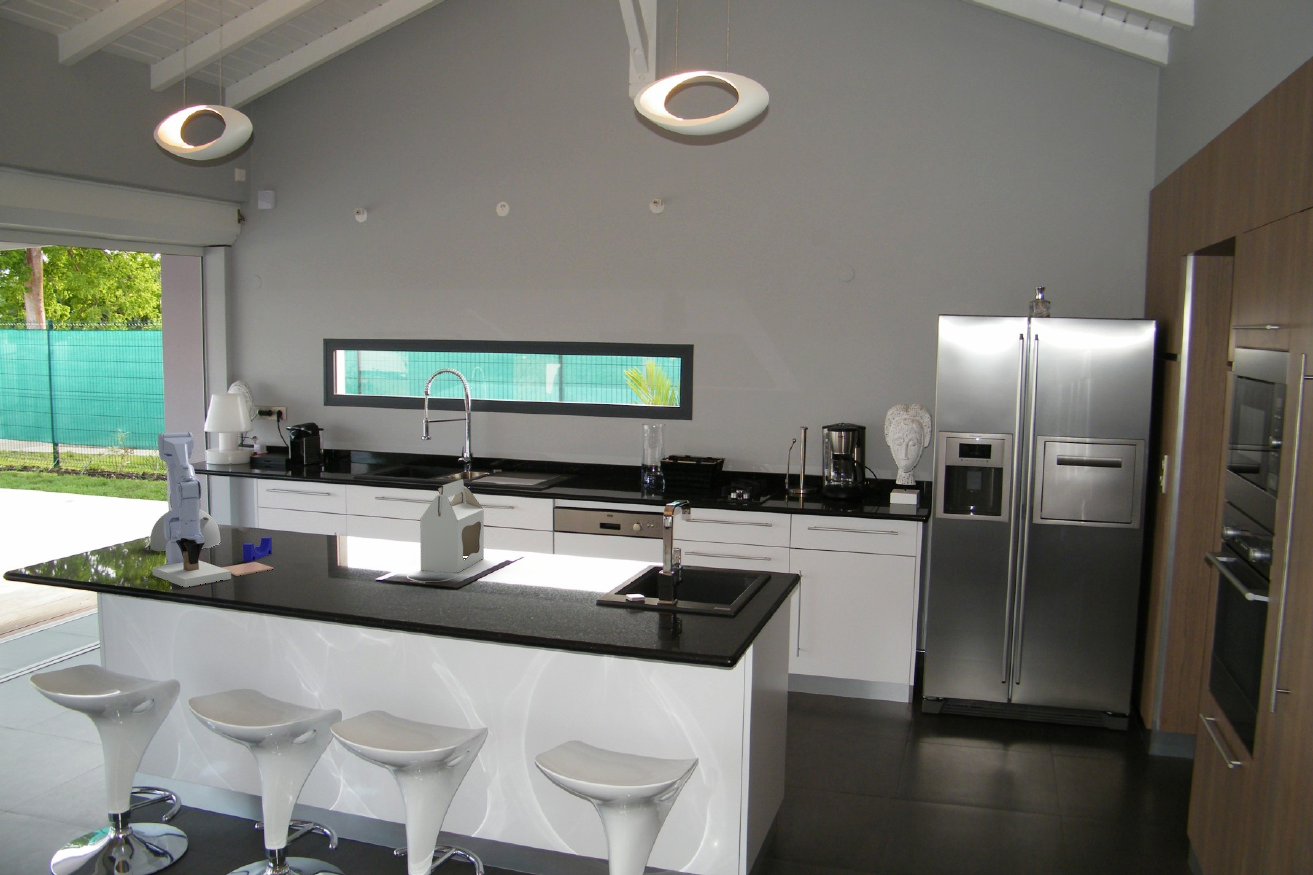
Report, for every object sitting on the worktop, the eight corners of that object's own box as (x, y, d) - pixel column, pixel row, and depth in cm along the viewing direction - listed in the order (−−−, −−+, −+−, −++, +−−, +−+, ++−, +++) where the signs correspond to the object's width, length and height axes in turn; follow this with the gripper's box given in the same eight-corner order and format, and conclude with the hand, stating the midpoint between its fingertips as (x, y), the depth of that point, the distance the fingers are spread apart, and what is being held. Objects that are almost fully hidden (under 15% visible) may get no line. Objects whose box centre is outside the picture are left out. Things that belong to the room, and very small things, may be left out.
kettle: (237, 544, 337) (236, 483, 335) (177, 556, 318) (175, 490, 316) (196, 536, 350) (195, 477, 348) (136, 546, 331) (134, 484, 329)
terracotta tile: (219, 569, 299) (218, 567, 299) (254, 563, 309) (254, 561, 308) (237, 576, 292) (237, 574, 292) (273, 569, 301) (273, 567, 301)
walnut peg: (183, 573, 289) (183, 551, 289) (194, 571, 292) (193, 549, 291) (188, 575, 287) (187, 553, 287) (198, 573, 290) (198, 551, 289)
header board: (152, 575, 291) (152, 567, 291) (198, 567, 302) (197, 559, 302) (184, 587, 277) (184, 579, 277) (231, 578, 288) (230, 570, 288)
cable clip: (260, 553, 324) (259, 536, 323) (272, 554, 323) (271, 537, 323) (239, 561, 312) (238, 543, 312) (251, 562, 311) (251, 544, 311)
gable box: (448, 556, 325) (448, 476, 322) (484, 558, 322) (484, 478, 319) (420, 570, 303) (419, 485, 300) (457, 573, 300) (457, 487, 298)
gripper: (165, 518, 290) (167, 561, 291) (187, 524, 280) (188, 568, 282) (188, 515, 295) (190, 557, 296) (210, 521, 286) (211, 564, 287)
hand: (190, 562), depth 289 cm, fingers closed on walnut peg, 3 cm apart
